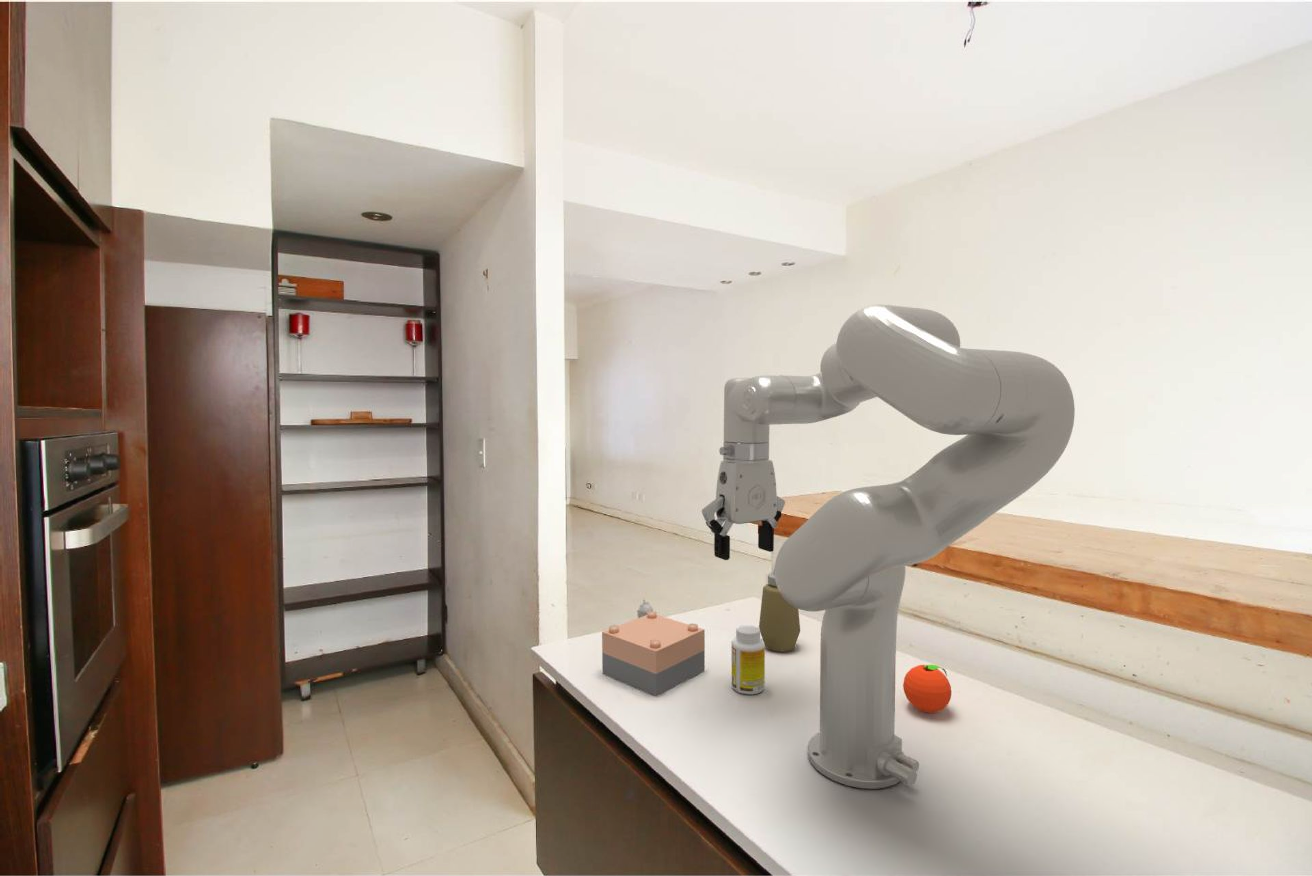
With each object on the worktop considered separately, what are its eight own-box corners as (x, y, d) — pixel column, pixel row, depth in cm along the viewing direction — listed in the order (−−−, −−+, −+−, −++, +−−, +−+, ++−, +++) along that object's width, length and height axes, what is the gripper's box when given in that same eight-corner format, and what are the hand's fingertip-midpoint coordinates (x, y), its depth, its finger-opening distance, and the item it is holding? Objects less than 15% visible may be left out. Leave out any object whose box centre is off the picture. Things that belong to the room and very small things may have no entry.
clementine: (927, 694, 101) (928, 652, 100) (965, 713, 94) (966, 668, 94) (893, 705, 97) (893, 661, 97) (930, 725, 91) (930, 679, 90)
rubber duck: (644, 629, 130) (644, 592, 130) (667, 636, 126) (667, 598, 126) (626, 636, 126) (626, 598, 126) (650, 644, 122) (650, 605, 122)
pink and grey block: (704, 670, 110) (704, 625, 109) (656, 696, 100) (656, 646, 100) (651, 651, 119) (651, 609, 118) (602, 673, 109) (602, 627, 108)
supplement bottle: (771, 689, 103) (771, 629, 102) (749, 699, 99) (749, 637, 99) (746, 677, 107) (746, 620, 106) (724, 687, 103) (724, 628, 103)
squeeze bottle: (750, 643, 122) (750, 555, 121) (782, 636, 126) (782, 550, 125) (776, 658, 115) (776, 564, 114) (809, 649, 119) (809, 559, 118)
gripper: (719, 457, 93) (718, 567, 94) (799, 452, 102) (797, 551, 104) (690, 453, 99) (689, 556, 101) (768, 448, 109) (766, 542, 110)
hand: (744, 553), depth 102 cm, fingers open, 9 cm apart
